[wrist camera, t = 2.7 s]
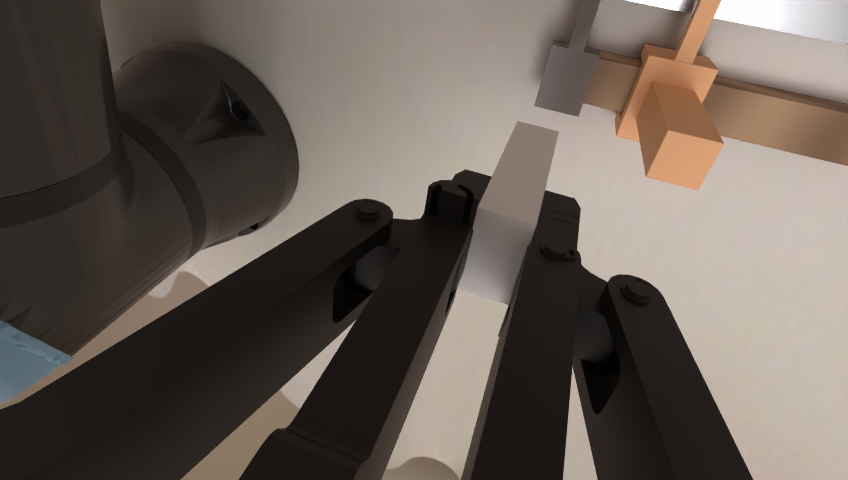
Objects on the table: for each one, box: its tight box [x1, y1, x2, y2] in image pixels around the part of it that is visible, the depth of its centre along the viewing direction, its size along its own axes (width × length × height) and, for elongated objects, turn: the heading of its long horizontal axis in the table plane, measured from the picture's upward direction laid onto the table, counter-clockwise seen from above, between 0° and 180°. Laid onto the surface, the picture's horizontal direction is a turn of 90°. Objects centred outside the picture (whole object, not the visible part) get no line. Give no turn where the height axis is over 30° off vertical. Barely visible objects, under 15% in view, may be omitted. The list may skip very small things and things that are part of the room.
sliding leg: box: [615, 0, 724, 190], centre depth 20 cm, size 3×10×10 cm, turn 174°
